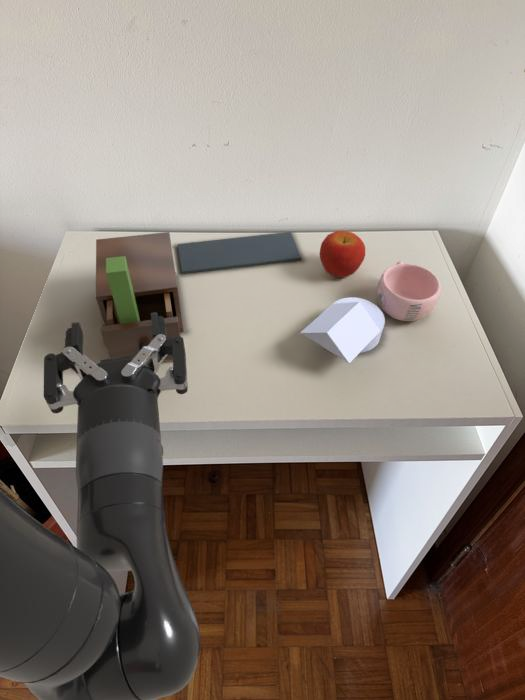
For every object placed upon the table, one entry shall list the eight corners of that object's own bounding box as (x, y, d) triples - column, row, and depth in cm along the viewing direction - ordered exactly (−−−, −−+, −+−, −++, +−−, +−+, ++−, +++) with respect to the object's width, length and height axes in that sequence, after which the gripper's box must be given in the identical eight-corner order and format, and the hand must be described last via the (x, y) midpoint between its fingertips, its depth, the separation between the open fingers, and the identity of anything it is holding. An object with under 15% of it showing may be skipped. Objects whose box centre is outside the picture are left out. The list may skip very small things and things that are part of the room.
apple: (366, 282, 89) (375, 247, 83) (324, 288, 87) (330, 252, 81) (352, 255, 94) (359, 220, 88) (312, 260, 92) (316, 225, 86)
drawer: (184, 364, 74) (179, 328, 68) (113, 374, 73) (101, 338, 67) (175, 301, 83) (170, 265, 77) (111, 309, 81) (101, 272, 75)
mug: (439, 327, 82) (451, 301, 77) (380, 330, 81) (388, 303, 77) (419, 279, 90) (428, 253, 85) (365, 280, 89) (371, 254, 84)
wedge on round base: (345, 377, 74) (390, 330, 81) (353, 348, 69) (400, 300, 76) (298, 347, 78) (345, 304, 85) (301, 317, 73) (351, 274, 80)
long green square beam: (127, 350, 74) (105, 272, 63) (126, 335, 76) (105, 258, 65) (144, 347, 75) (126, 270, 63) (143, 333, 77) (125, 255, 65)
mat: (182, 274, 89) (181, 271, 88) (177, 246, 94) (177, 244, 93) (300, 260, 92) (301, 257, 92) (290, 234, 97) (290, 231, 97)
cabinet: (183, 331, 80) (177, 287, 72) (109, 341, 78) (95, 297, 71) (175, 276, 88) (169, 231, 81) (108, 284, 87) (96, 239, 79)
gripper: (193, 412, 44) (176, 289, 54) (24, 439, 42) (40, 306, 52) (200, 454, 50) (183, 336, 60) (51, 479, 48) (60, 353, 58)
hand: (116, 322), depth 56 cm, fingers open, 8 cm apart
